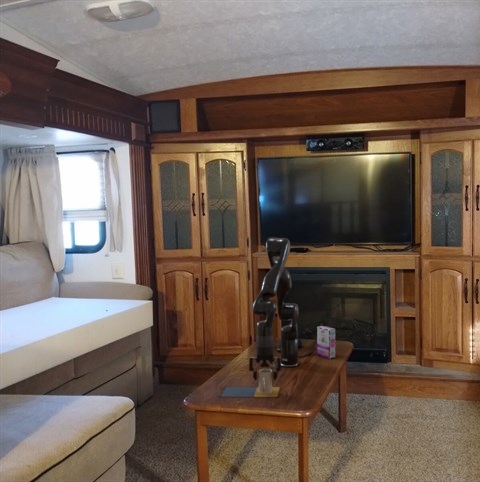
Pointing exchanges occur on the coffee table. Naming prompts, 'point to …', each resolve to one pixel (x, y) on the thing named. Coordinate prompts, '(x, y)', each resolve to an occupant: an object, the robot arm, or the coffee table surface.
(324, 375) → the coffee table surface
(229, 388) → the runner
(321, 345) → the candy bar box
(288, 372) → the coffee table surface
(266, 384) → the mug
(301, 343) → the miniature car
